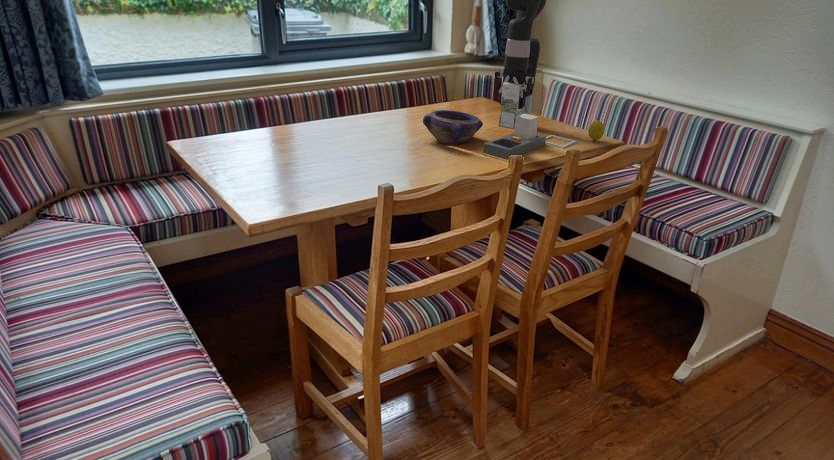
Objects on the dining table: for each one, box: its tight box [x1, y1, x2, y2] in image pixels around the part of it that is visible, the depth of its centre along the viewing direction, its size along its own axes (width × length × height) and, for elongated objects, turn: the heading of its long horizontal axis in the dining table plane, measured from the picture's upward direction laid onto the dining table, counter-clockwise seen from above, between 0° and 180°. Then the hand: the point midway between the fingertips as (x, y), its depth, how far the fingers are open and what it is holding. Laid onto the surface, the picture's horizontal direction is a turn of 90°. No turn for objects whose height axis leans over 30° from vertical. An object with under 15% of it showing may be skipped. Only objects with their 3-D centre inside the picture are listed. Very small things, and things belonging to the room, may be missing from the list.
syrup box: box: [498, 81, 523, 130], centre depth 200 cm, size 6×6×14 cm
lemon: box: [587, 119, 605, 142], centre depth 225 cm, size 6×6×8 cm
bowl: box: [422, 109, 484, 146], centre depth 216 cm, size 18×18×10 cm
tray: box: [545, 134, 578, 149], centre depth 220 cm, size 10×10×2 cm
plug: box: [513, 114, 539, 141], centre depth 213 cm, size 6×6×10 cm
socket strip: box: [482, 131, 547, 163], centre depth 210 cm, size 10×24×5 cm, turn 140°
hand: (511, 106), depth 200 cm, fingers closed on syrup box, 6 cm apart
